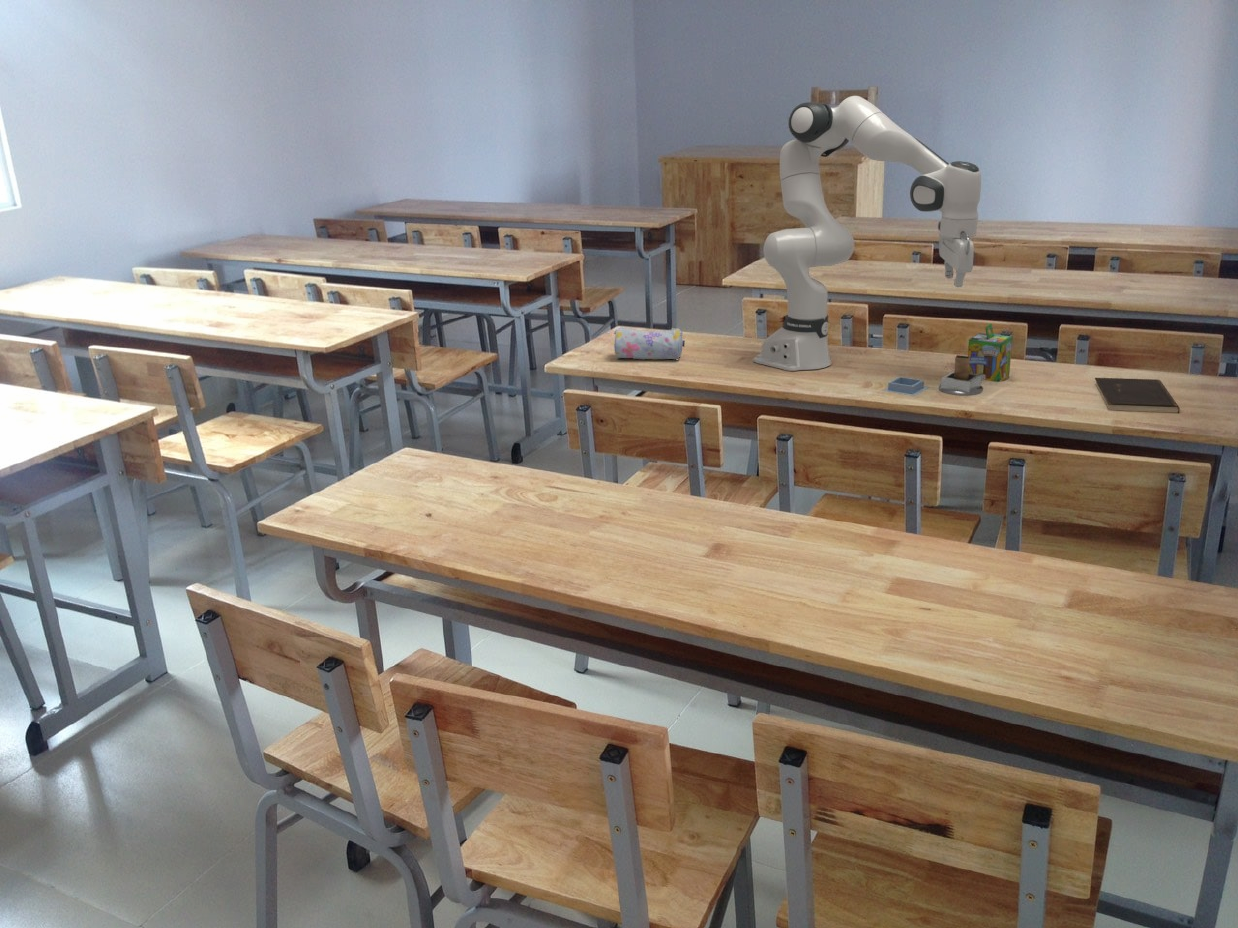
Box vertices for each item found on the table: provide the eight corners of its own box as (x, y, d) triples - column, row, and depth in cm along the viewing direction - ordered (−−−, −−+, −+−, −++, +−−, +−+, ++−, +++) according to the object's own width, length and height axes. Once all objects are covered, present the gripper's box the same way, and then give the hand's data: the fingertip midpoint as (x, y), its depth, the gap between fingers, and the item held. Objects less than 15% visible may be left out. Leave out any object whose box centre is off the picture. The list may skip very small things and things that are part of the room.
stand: (881, 394, 283) (882, 383, 282) (897, 385, 290) (897, 374, 289) (914, 399, 278) (914, 388, 277) (929, 390, 284) (929, 379, 283)
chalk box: (998, 385, 286) (1003, 331, 281) (964, 380, 292) (969, 327, 286) (1010, 377, 293) (1015, 323, 288) (977, 372, 299) (981, 320, 293)
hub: (931, 394, 281) (932, 378, 279) (948, 384, 289) (950, 368, 287) (972, 401, 274) (974, 384, 273) (989, 391, 282) (990, 374, 281)
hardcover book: (1107, 412, 264) (1108, 403, 264) (1094, 385, 285) (1095, 377, 284) (1178, 415, 260) (1180, 406, 259) (1160, 388, 281) (1161, 379, 280)
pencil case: (685, 355, 327) (684, 325, 324) (682, 363, 319) (681, 332, 316) (617, 355, 331) (615, 325, 327) (612, 363, 323) (611, 331, 319)
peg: (951, 388, 280) (953, 357, 277) (954, 384, 283) (957, 353, 280) (965, 390, 279) (968, 358, 276) (968, 386, 282) (971, 355, 279)
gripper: (982, 236, 265) (976, 291, 270) (960, 220, 283) (955, 273, 289) (956, 236, 265) (951, 292, 270) (936, 221, 284) (932, 273, 289)
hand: (953, 282), depth 280 cm, fingers open, 8 cm apart
